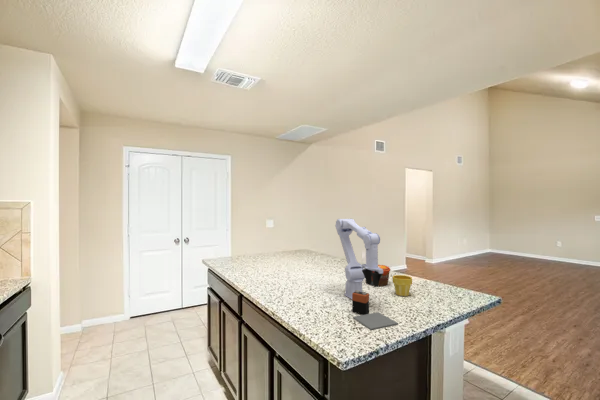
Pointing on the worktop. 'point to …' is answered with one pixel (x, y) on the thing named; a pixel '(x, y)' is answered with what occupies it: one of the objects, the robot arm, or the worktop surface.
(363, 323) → the mat
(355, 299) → the battery
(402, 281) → the plant pot
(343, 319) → the worktop surface
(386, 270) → the food container
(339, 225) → the robot arm
